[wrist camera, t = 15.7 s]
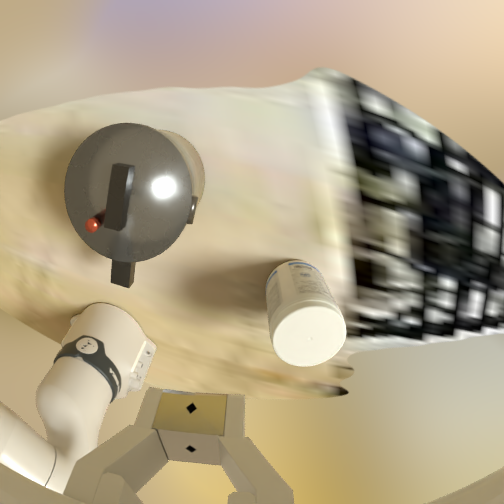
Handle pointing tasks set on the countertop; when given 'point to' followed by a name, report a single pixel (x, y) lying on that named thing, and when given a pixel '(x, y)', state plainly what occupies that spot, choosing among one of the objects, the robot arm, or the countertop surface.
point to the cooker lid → (129, 192)
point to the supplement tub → (303, 315)
